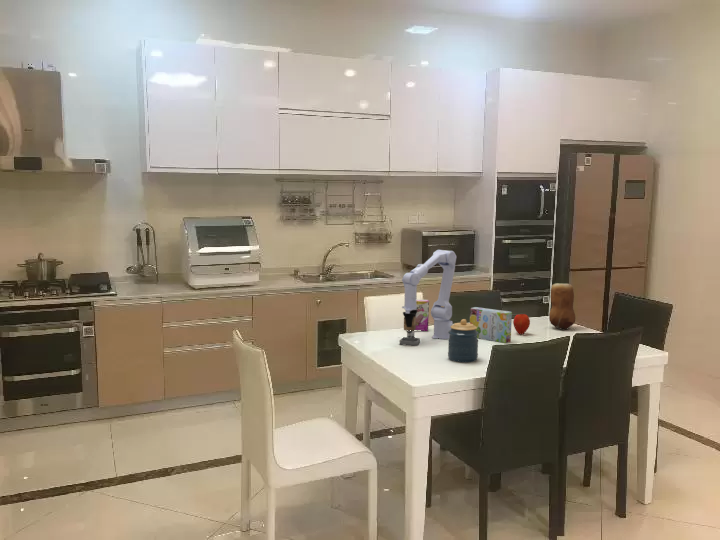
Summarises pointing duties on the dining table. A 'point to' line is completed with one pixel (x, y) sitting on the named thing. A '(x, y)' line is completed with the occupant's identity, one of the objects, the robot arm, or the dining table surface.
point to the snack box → (492, 324)
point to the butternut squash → (562, 306)
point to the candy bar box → (422, 315)
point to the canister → (463, 342)
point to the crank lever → (410, 334)
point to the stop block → (411, 326)
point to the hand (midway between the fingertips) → (410, 325)
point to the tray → (410, 341)
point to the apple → (521, 323)
